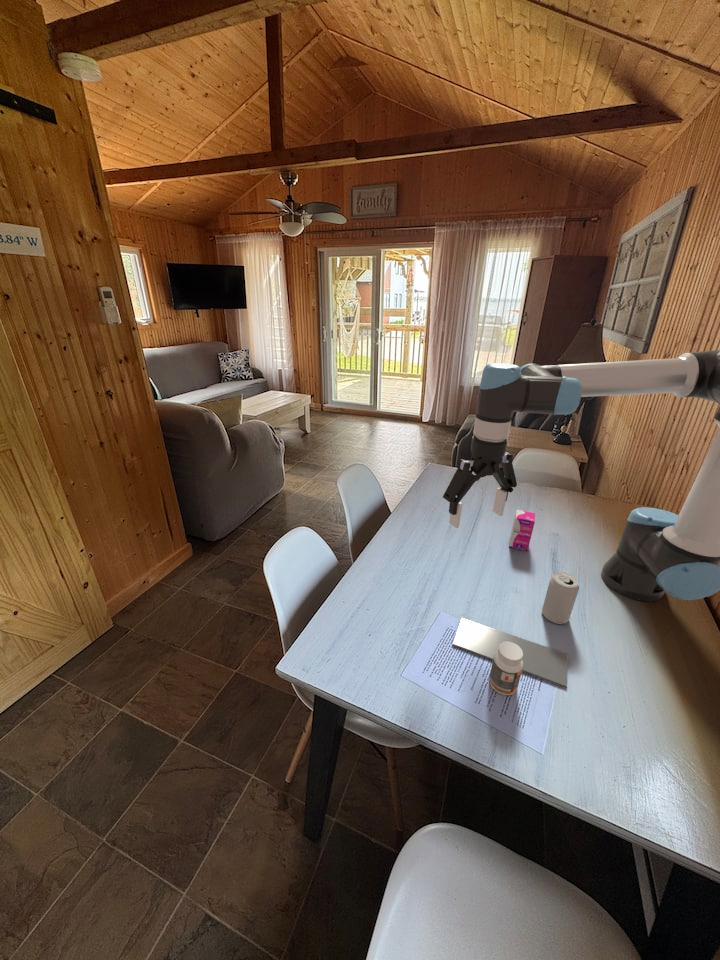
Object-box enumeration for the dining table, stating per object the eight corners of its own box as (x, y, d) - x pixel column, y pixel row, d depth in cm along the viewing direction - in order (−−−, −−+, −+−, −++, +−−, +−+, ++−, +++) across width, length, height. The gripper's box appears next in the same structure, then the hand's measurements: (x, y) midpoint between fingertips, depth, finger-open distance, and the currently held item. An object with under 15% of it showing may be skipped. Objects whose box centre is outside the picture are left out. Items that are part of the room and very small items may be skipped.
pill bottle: (519, 699, 79) (528, 665, 75) (489, 693, 80) (497, 659, 76) (514, 674, 84) (523, 641, 80) (487, 670, 85) (494, 637, 81)
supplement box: (508, 547, 126) (515, 517, 121) (509, 538, 131) (515, 508, 126) (527, 551, 124) (535, 521, 119) (528, 542, 129) (535, 512, 124)
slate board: (566, 655, 89) (567, 653, 88) (566, 688, 81) (566, 685, 81) (461, 619, 98) (461, 617, 98) (452, 645, 91) (452, 643, 91)
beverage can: (557, 629, 96) (568, 591, 91) (535, 612, 101) (545, 575, 96) (574, 620, 98) (586, 583, 93) (552, 604, 104) (563, 567, 98)
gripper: (519, 425, 94) (503, 502, 103) (433, 438, 84) (425, 522, 94) (544, 434, 88) (525, 515, 97) (455, 450, 78) (443, 538, 88)
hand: (476, 519), depth 95 cm, fingers open, 13 cm apart
